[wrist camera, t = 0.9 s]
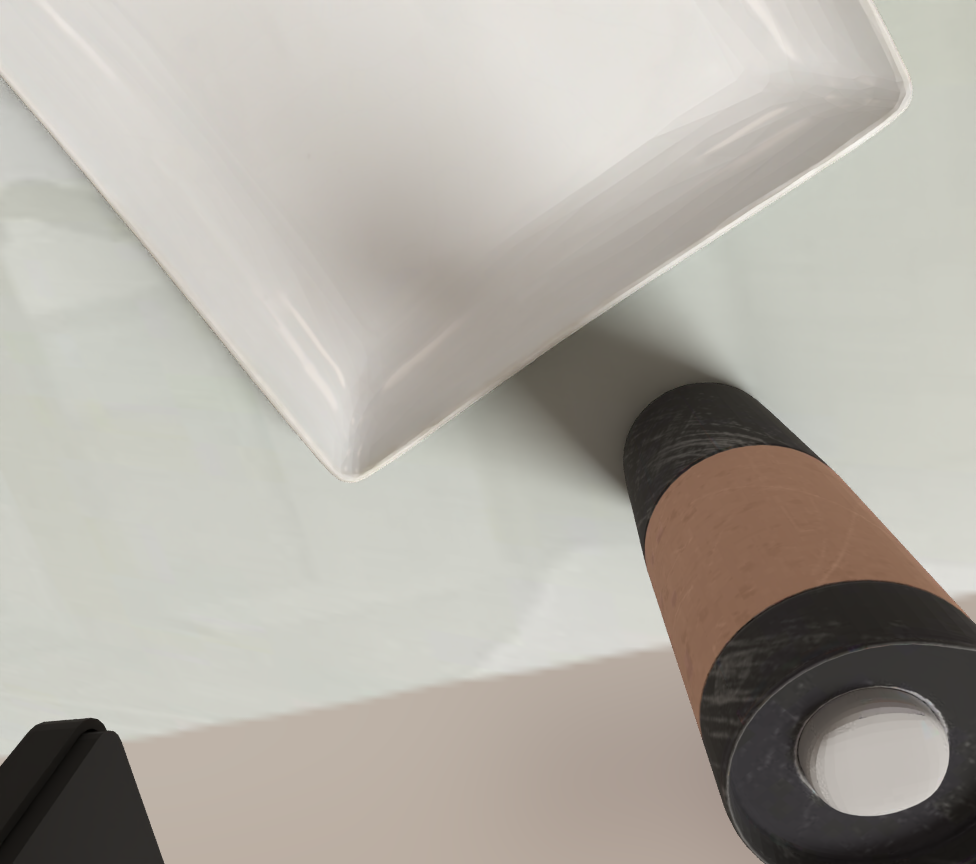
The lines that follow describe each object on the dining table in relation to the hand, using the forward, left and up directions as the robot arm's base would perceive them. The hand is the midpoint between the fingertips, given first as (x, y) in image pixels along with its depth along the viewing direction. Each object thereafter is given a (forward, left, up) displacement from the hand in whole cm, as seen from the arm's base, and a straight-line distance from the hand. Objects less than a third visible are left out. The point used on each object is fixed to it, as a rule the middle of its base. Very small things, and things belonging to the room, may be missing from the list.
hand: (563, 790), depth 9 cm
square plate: (-4, -11, -29) cm, 31 cm away
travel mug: (-1, +11, -29) cm, 30 cm away
